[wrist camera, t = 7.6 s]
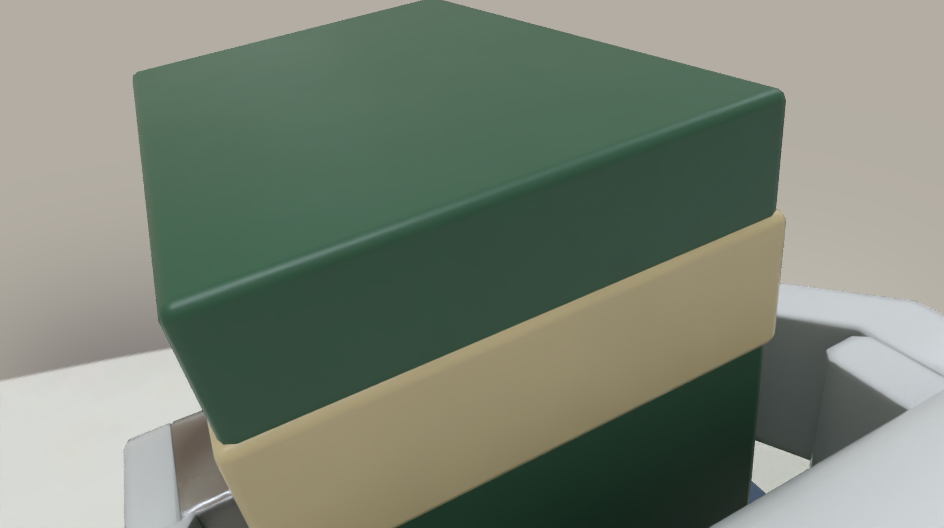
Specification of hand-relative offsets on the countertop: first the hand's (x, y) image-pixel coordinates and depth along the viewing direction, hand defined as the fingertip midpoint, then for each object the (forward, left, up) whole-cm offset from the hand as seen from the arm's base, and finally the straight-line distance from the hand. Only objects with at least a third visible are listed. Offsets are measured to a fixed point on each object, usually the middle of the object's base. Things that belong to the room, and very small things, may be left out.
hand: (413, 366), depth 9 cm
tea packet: (0, +1, -8) cm, 8 cm away
